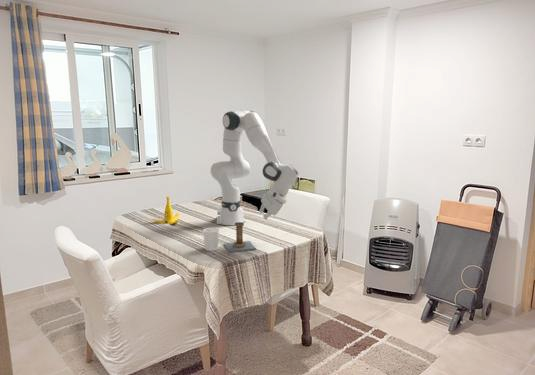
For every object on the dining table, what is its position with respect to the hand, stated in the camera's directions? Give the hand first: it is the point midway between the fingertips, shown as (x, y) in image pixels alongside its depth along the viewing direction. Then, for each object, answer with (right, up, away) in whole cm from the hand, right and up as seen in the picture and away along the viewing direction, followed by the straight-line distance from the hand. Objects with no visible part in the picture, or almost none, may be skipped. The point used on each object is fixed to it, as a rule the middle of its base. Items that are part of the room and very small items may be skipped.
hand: (262, 215), depth 206 cm
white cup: (-26, -17, -6) cm, 31 cm away
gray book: (-12, -16, -4) cm, 20 cm away
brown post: (-12, -15, -4) cm, 20 cm away
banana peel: (-59, -7, +44) cm, 74 cm away
